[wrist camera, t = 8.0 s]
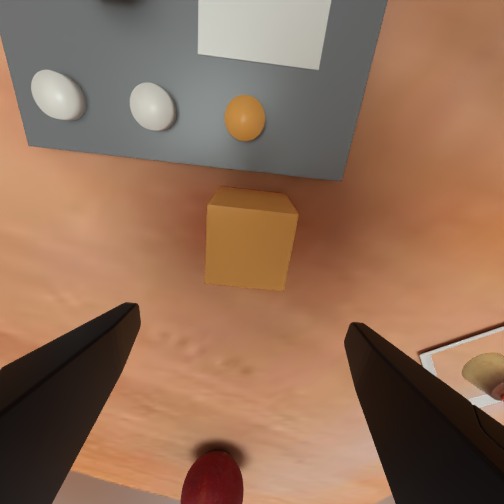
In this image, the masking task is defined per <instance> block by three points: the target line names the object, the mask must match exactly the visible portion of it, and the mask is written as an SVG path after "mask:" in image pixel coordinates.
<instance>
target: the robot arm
mask: <svg viewBox="0 0 504 504" xmlns="http://www.w3.org/2000/svg"><path fill="white" fill-rule="evenodd" d="M140 325H141V320H140V311H139V305H138V304H137V303H129V302H125V303H123V304H121V305H119V306H117V307H115V308H113V309H112V310H110V311H108V312H106V313H104V314H102V315H100V316H98V317H96V318H95V319H93V320H91V321H89V322H87V323H85V324H83V325H81V326H79V327H78V328H76V329H74V330H72V331H70V332H68V333H66V334H64V335H62V336H60V337H59V338H57V339H55V340H53V341H51V342H49V343H47V344H45V345H43V346H42V347H40V348H38V349H36V350H34V351H32V352H30V353H28V354H26V355H25V356H23V357H21V358H19V359H17V360H15V361H13V362H11V363H9V364H7V365H6V366H4V367H2V368H1V370H0V504H52V503H53V500H54V499H55V497H56V495H57V493H58V491H59V489H60V488H61V486H62V484H63V482H64V480H65V478H66V476H67V474H68V473H69V471H70V469H71V467H72V465H73V463H74V461H75V459H76V458H77V456H78V454H79V452H80V450H81V448H82V446H83V444H84V443H85V441H86V439H87V437H88V435H89V433H90V431H91V429H92V427H93V426H94V424H95V422H96V420H97V418H98V416H99V414H100V412H101V411H102V409H103V407H104V405H105V403H106V401H107V399H108V397H109V396H110V394H111V392H112V390H113V388H114V386H115V384H116V382H117V381H118V379H119V377H120V375H121V373H122V371H123V368H124V366H125V364H126V361H127V359H128V356H129V354H130V351H131V349H132V346H133V344H134V342H135V339H136V337H137V334H138V332H139V329H140ZM344 346H345V350H346V354H347V358H348V362H349V367H350V371H351V375H352V379H353V383H354V386H355V390H356V393H357V396H358V399H359V402H360V404H361V407H362V410H363V413H364V416H365V418H366V421H367V424H368V427H369V430H370V433H371V435H372V438H373V441H374V444H375V447H376V450H377V452H378V455H379V458H380V461H381V464H382V466H383V469H384V472H385V475H386V478H387V481H388V483H389V486H390V489H391V492H392V495H393V498H394V500H395V503H396V504H504V426H503V425H502V424H500V423H499V422H498V421H496V420H495V419H493V418H492V417H491V416H489V415H488V414H486V413H485V412H484V411H482V410H481V409H480V408H478V407H477V406H476V405H472V403H471V402H470V401H469V400H467V399H466V398H465V397H463V396H462V395H461V394H459V393H458V392H457V391H455V390H454V389H452V388H451V387H450V386H448V385H447V384H446V383H444V382H443V381H442V380H440V379H439V378H437V377H436V376H435V375H433V374H432V373H431V372H429V371H428V370H427V369H425V368H424V367H423V366H421V365H420V364H418V363H417V362H416V361H414V360H413V359H412V358H410V357H409V356H408V355H406V354H405V353H403V352H402V351H401V350H399V349H398V348H397V347H395V346H394V345H393V344H391V343H390V342H389V341H387V340H386V339H384V338H383V337H382V336H380V335H379V334H378V333H376V332H375V331H374V330H372V329H371V328H369V327H368V326H367V325H365V324H364V323H358V322H352V323H351V324H350V325H349V328H348V331H347V334H346V337H345V340H344Z"/></svg>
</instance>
